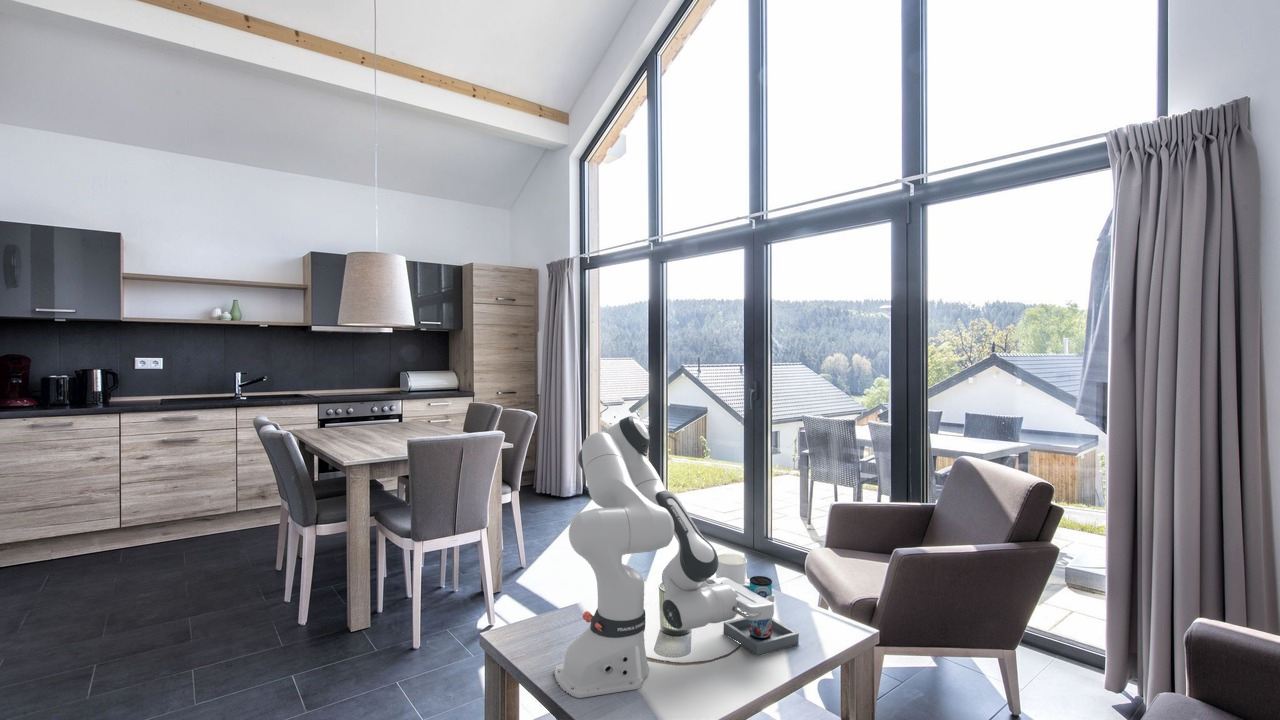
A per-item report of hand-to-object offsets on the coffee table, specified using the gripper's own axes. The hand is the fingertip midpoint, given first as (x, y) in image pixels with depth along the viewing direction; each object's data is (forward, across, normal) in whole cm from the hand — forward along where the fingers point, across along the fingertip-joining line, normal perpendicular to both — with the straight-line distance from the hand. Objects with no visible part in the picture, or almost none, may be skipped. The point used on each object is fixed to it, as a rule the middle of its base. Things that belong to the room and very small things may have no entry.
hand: (763, 592), depth 164 cm
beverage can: (0, 0, +12) cm, 12 cm away
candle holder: (+9, +25, +12) cm, 30 cm away
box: (-1, 0, +12) cm, 12 cm away
